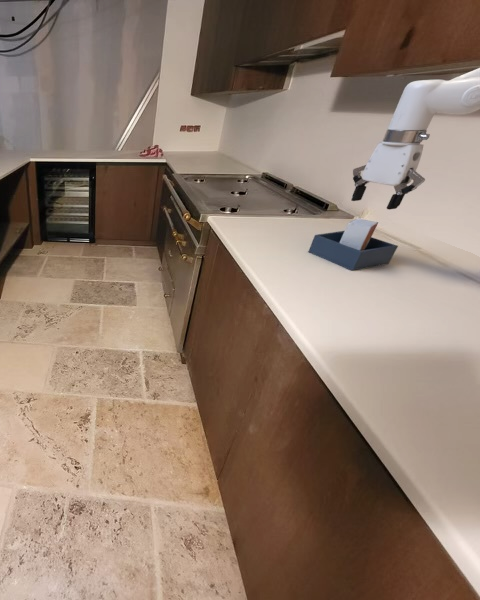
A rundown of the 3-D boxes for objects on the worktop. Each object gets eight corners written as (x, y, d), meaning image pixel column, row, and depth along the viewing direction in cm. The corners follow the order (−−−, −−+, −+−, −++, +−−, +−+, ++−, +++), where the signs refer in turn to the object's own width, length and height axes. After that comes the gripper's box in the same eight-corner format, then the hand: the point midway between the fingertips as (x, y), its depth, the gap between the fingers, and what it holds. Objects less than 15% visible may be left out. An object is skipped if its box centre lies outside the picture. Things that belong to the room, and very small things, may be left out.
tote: (341, 246, 108) (349, 229, 105) (388, 264, 96) (398, 245, 93) (308, 251, 104) (314, 234, 101) (352, 270, 93) (361, 252, 90)
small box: (354, 261, 96) (371, 227, 90) (333, 255, 100) (347, 222, 94) (363, 254, 100) (379, 221, 95) (342, 249, 104) (356, 217, 98)
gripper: (454, 139, 76) (417, 211, 85) (377, 134, 91) (352, 196, 100) (432, 141, 75) (396, 214, 84) (358, 136, 89) (334, 198, 98)
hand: (372, 204), depth 92 cm, fingers open, 9 cm apart
